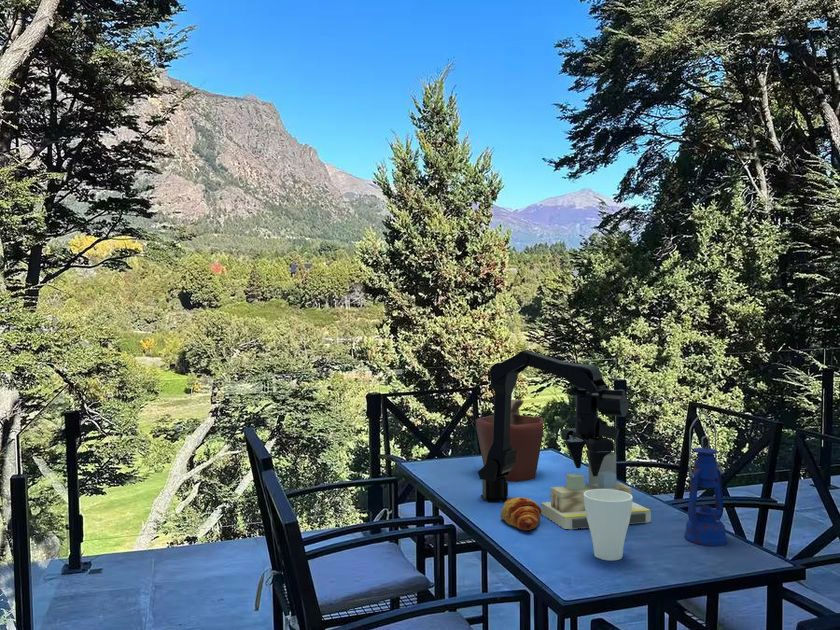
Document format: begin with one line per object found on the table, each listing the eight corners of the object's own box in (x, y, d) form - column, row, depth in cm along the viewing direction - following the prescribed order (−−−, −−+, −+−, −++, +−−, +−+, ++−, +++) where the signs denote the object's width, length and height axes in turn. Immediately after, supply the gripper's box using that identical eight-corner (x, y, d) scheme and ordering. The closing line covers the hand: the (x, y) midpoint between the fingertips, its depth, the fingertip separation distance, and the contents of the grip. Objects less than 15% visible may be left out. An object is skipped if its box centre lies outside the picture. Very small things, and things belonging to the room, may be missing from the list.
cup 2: (604, 567, 143) (604, 503, 143) (574, 551, 152) (573, 491, 152) (643, 560, 147) (643, 498, 147) (611, 545, 156) (611, 486, 156)
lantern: (707, 549, 154) (706, 417, 154) (674, 537, 162) (673, 411, 162) (738, 541, 158) (737, 413, 158) (704, 530, 167) (704, 408, 167)
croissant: (502, 523, 185) (488, 497, 185) (534, 504, 186) (520, 479, 186) (519, 548, 164) (504, 519, 164) (555, 527, 165) (540, 498, 164)
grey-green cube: (572, 490, 174) (572, 477, 174) (566, 487, 177) (566, 474, 177) (584, 490, 175) (584, 476, 175) (578, 486, 178) (578, 473, 178)
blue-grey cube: (604, 488, 176) (604, 475, 176) (597, 485, 180) (597, 472, 180) (616, 487, 177) (616, 474, 177) (609, 484, 180) (609, 471, 180)
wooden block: (561, 512, 172) (561, 493, 172) (551, 506, 178) (550, 487, 178) (631, 506, 177) (631, 487, 177) (619, 500, 183) (619, 482, 183)
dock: (566, 530, 167) (566, 518, 167) (541, 513, 181) (541, 502, 181) (652, 523, 173) (652, 510, 173) (621, 507, 187) (621, 495, 187)
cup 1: (609, 490, 205) (609, 457, 205) (584, 486, 210) (584, 454, 210) (620, 484, 212) (620, 452, 212) (595, 480, 217) (595, 449, 217)
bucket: (501, 464, 241) (501, 394, 241) (559, 473, 228) (559, 398, 228) (465, 478, 221) (465, 401, 221) (526, 488, 208) (526, 407, 208)
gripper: (633, 417, 171) (633, 478, 172) (597, 407, 190) (596, 462, 190) (593, 419, 169) (593, 481, 169) (560, 408, 187) (560, 464, 187)
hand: (586, 472), depth 179 cm, fingers open, 9 cm apart
